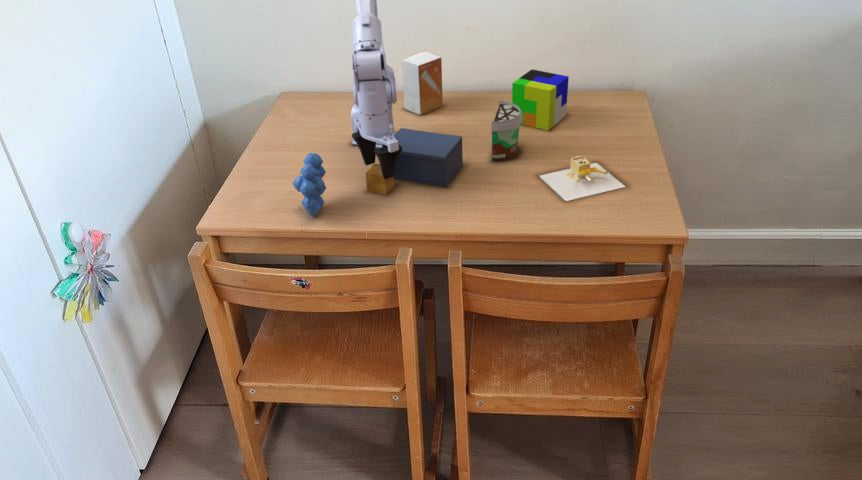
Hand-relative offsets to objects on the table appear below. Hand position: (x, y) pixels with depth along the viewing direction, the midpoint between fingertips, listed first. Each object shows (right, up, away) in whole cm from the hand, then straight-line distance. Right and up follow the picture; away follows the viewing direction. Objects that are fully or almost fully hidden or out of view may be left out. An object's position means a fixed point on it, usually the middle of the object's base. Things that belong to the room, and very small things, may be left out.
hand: (379, 170), depth 161 cm
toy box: (+9, +1, +8) cm, 12 cm away
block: (0, -4, +3) cm, 4 cm away
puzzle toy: (+37, +17, +29) cm, 50 cm away
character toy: (+43, -2, +3) cm, 43 cm away
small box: (+8, +22, +36) cm, 43 cm away
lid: (+9, +6, +4) cm, 11 cm away
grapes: (-13, -9, -3) cm, 16 cm away
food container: (+28, +6, +14) cm, 32 cm away
